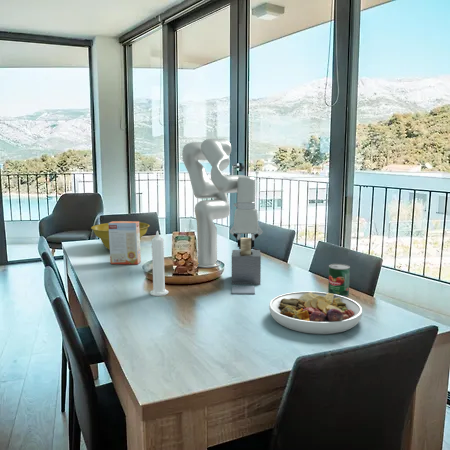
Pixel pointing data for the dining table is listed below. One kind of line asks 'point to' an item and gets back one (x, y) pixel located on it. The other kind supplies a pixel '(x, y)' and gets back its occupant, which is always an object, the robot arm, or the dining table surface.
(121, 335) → the dining table surface
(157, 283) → the candle
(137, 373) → the dining table surface
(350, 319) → the bowl
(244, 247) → the peg
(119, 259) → the cracker box
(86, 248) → the dining table surface
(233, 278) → the post block
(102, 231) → the planter bowl
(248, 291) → the mat
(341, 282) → the canned tomato
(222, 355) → the dining table surface
